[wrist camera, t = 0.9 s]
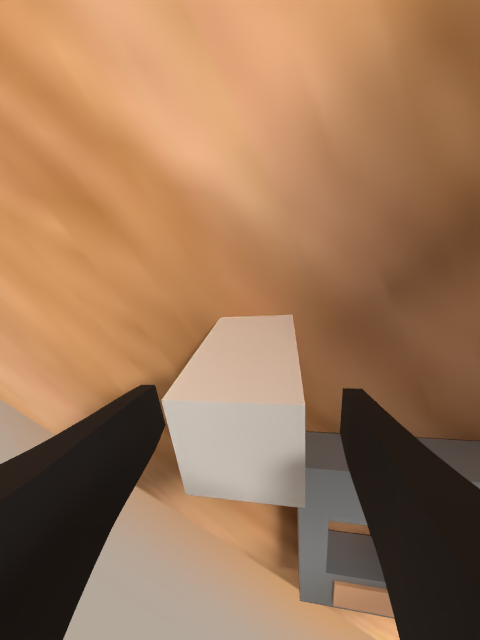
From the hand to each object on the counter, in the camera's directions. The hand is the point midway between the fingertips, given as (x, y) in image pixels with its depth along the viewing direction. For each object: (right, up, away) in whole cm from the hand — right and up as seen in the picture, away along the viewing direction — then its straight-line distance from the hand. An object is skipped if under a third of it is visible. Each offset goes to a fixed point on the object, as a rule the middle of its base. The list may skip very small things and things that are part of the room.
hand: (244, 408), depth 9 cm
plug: (+1, +2, +5) cm, 5 cm away
